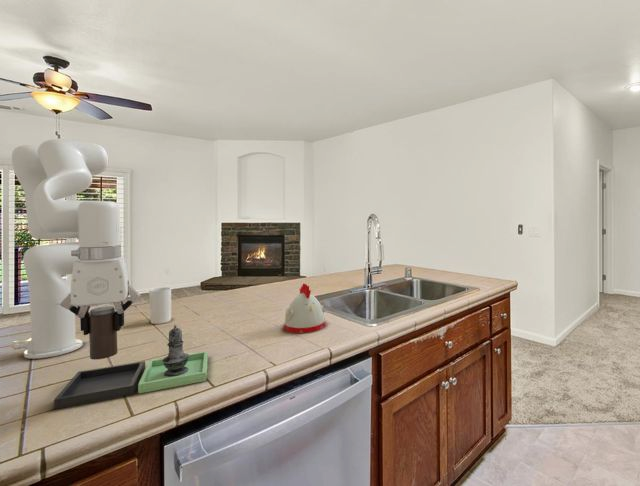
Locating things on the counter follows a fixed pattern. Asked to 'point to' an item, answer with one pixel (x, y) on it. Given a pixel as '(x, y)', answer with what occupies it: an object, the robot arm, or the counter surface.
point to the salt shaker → (175, 354)
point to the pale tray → (157, 380)
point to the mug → (160, 305)
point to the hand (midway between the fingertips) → (103, 330)
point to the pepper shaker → (102, 333)
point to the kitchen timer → (304, 313)
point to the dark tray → (100, 384)
